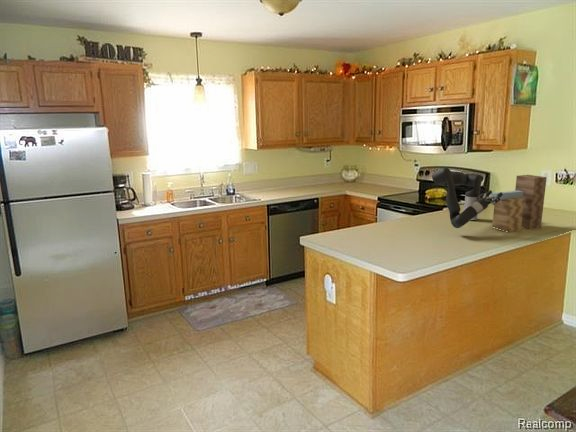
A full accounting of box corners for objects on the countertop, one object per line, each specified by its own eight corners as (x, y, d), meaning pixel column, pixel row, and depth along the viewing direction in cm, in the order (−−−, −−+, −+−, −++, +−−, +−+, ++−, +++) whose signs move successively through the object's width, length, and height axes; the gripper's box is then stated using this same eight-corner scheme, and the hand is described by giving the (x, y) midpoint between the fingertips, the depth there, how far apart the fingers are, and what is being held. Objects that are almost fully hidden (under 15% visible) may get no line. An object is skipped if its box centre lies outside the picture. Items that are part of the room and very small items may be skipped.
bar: (496, 200, 267) (496, 194, 266) (491, 199, 270) (491, 193, 269) (522, 197, 274) (523, 191, 273) (517, 196, 277) (518, 190, 276)
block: (506, 232, 270) (509, 200, 265) (492, 227, 281) (494, 197, 276) (520, 230, 274) (524, 198, 269) (506, 226, 285) (509, 195, 280)
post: (529, 229, 275) (534, 178, 267) (511, 224, 288) (516, 175, 280) (540, 228, 278) (546, 177, 270) (522, 223, 291) (528, 174, 283)
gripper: (484, 203, 257) (503, 189, 260) (467, 200, 271) (486, 186, 273) (488, 213, 260) (507, 199, 263) (471, 209, 273) (489, 195, 276)
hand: (496, 192), depth 268 cm, fingers open, 8 cm apart
